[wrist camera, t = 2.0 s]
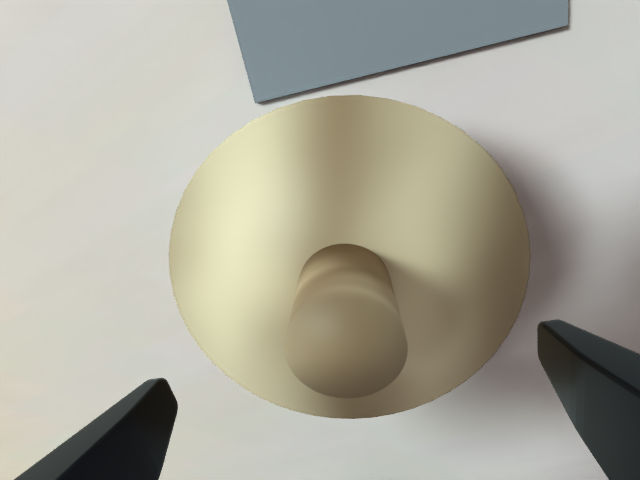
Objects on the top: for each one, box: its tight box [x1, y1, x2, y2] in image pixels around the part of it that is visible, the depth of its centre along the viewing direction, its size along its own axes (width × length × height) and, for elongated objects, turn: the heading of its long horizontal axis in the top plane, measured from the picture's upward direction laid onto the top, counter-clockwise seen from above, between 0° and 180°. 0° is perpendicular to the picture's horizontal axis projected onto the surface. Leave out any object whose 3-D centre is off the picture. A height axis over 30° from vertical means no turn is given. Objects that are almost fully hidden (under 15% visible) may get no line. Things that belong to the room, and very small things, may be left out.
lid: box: [169, 95, 530, 419], centre depth 12 cm, size 12×12×4 cm
